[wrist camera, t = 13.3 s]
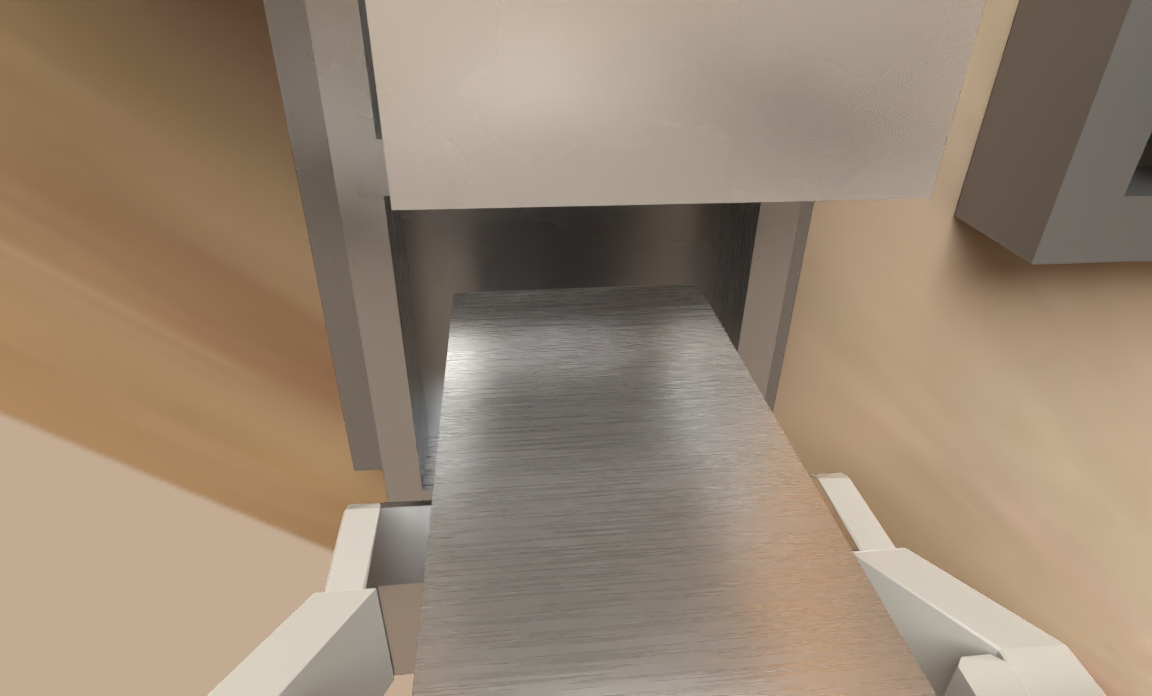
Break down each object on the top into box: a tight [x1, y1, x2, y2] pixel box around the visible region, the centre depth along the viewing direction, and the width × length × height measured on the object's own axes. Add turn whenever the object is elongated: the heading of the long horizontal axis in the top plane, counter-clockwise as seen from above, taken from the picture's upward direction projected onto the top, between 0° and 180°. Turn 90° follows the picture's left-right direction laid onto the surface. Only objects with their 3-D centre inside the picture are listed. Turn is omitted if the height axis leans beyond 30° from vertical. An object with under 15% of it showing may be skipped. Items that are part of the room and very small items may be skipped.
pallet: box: [263, 0, 986, 502], centre depth 11 cm, size 11×17×10 cm, turn 179°
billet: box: [412, 284, 937, 696], centre depth 10 cm, size 4×4×9 cm
